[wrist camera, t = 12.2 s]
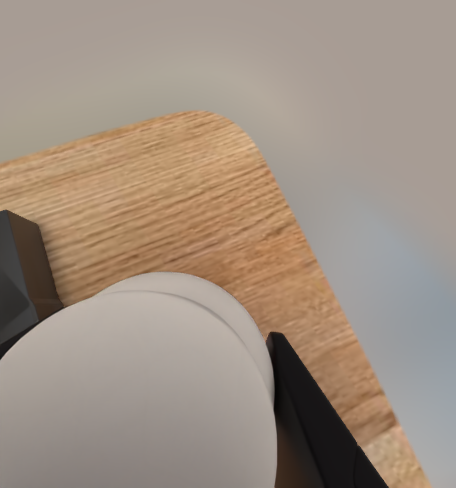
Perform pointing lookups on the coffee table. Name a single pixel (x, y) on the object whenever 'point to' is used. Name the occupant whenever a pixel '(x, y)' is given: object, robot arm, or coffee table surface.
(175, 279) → the pill bottle
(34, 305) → the board
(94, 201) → the coffee table surface
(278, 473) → the robot arm
